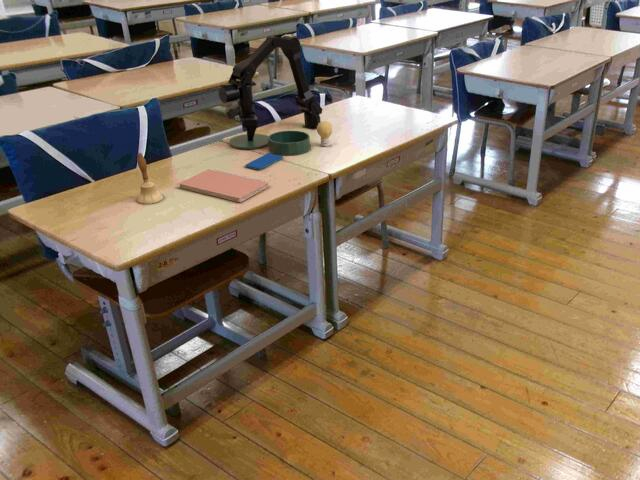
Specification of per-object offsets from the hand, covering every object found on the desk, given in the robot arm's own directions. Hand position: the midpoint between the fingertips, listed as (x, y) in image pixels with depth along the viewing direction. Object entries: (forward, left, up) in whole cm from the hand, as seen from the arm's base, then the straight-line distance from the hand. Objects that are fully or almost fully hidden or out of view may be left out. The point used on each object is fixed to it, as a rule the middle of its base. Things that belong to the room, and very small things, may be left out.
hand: (250, 136), depth 261 cm
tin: (+18, +3, -3) cm, 18 cm away
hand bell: (+10, -62, -3) cm, 63 cm away
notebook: (+24, -41, -3) cm, 48 cm away
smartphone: (+20, -15, -3) cm, 25 cm away
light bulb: (+28, +14, -3) cm, 31 cm away
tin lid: (0, 0, -2) cm, 2 cm away
